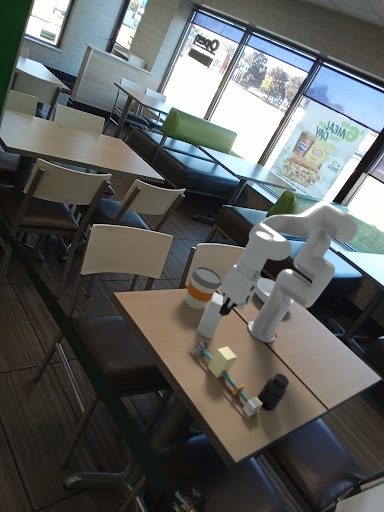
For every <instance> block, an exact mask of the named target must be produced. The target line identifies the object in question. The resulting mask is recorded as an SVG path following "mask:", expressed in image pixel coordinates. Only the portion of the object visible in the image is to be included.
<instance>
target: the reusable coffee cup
mask: <svg viewBox="0 0 384 512" xmlns="http://www.w3.org/2000/svg"><path fill="white" fill-rule="evenodd" d="M191 275H192V276H191V278H190V279H189V282H188V286H187V288H186V291H187V292H186V296H185V298H184V301H185V303H186V304H187V306H189V307H190V308H192V309H195V310H203V309H204V308H205V307H206V305H208V303H209V302H210V300H211V297H212V295H213V293H214V292H215V293H217V290H218V289H220V287H221V284H222V282H223V279H222V277H221V276H220V274H219V273H218V272H216V271H215V270H213V269H211V268H209V267H206V266H202V265H201V266H196V267H195V269H194V270H193V272H192V273H191Z"/></svg>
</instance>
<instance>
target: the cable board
mask: <svg viewBox="0 0 384 512" xmlns="http://www.w3.org/2000/svg"><path fill="white" fill-rule="evenodd" d="M210 345H211V344H210V342H208V341H207V340H204V341H203V342H202V341H200V342H198V344H197V345H196V347H195V349H193V350H190V351H188V352H189V354H190V355H191V357H192V358H193V359H194V360H195V361H196V363H197V364H198V365H199V367H201V368H202V370H203V371H204V372H205V373H206V375H207V376H208V377H209V378H210V379H211V381H212V382H213V383H214V384H215V386H216V387H217V388H218V389H219V390H220V392H223V393H222V394H223V395H224V396H225V397H226V398H227V400H228V401H229V402H230V404H232V406H233V407H234V408H235V410H236V411H237V412H238V413H239V415H241V417H242V418H243V419H244V420H245V421H247V420H249V419H251V418H253V417H255V416H258V415H259V414H261V413H262V411H261V410H260V409H261V408H262V407H261V406H262V402H261V401H260V400H259V399H258V398H257V397H258V396H255V397H252V398H250V397H249V396H248V395H247V393H246V392H245V391H244V390H243V389H244V388H245V385H244V383H240V384H238V382H236V381H235V379H234V378H233V377H232V376H231V375H230V374H229V372H228V373H227V372H226V371H223V372H222V373H221V374H222V375H223V376H221V377H218V378H216V377H215V375H214V374H213V373H212V372H211V371H210V369H209V368H208V366H209V364H210V362H211V360H212V358H213V357H214V355H212V353H211V352H210V351H209V350H208V349H209V347H210Z"/></svg>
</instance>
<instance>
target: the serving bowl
mask: <svg viewBox="0 0 384 512" xmlns="http://www.w3.org/2000/svg"><path fill="white" fill-rule="evenodd" d="M257 279H258V278H257ZM275 282H276V280H275V281H274V280H272V279H269V278H266V277H265V278H264V277H261V278H260V279H258V283H257V286H256V289H255V292H254V293H255V294H256V296H257V297H258V298H259V300H261V302H263V303H265V302H266V300H267V298H268V297H269V295H270V293H271V291H272V289H273V287H274V285H275ZM294 302H295V301H294V300H293V299H291V304H290V306H291V305H292V304H293V303H294Z"/></svg>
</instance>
